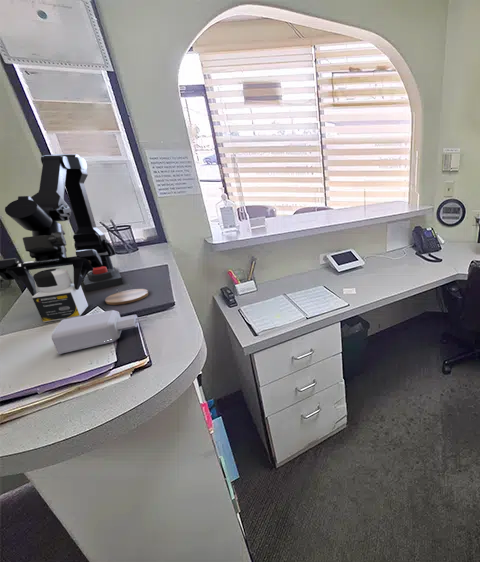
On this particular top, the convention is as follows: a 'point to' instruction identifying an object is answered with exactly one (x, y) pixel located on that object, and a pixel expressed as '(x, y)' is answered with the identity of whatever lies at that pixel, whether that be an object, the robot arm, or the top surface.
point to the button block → (102, 280)
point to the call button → (99, 270)
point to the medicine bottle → (58, 296)
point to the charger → (91, 330)
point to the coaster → (126, 296)
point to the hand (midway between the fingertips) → (55, 292)
